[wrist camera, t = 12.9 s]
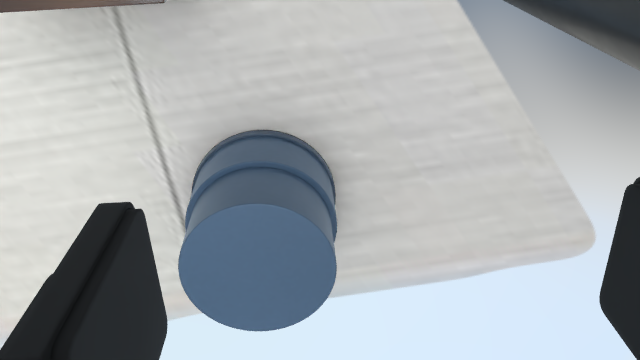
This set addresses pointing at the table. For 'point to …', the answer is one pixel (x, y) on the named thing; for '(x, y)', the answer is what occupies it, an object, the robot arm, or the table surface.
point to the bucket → (260, 232)
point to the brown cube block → (65, 4)
